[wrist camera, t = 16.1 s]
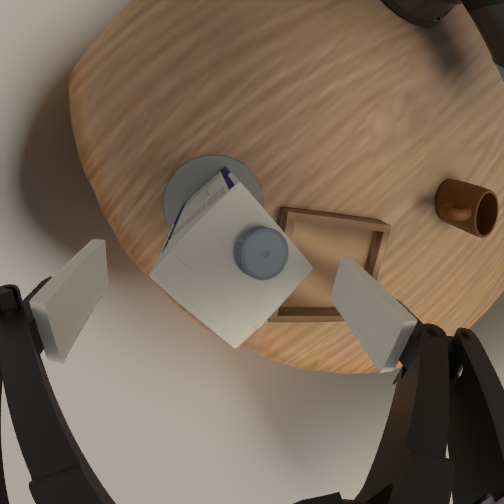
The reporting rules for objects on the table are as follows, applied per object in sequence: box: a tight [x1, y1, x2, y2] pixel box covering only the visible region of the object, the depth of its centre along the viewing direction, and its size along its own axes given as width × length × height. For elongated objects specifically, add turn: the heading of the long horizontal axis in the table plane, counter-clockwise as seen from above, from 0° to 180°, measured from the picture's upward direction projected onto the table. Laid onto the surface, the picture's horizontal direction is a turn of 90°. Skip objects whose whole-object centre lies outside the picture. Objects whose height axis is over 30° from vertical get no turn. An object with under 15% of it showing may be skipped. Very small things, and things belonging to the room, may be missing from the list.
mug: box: [436, 180, 498, 238], centre depth 34 cm, size 12×8×9 cm, turn 95°
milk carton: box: [149, 166, 313, 348], centre depth 24 cm, size 7×7×20 cm
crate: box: [268, 207, 391, 322], centre depth 37 cm, size 15×15×3 cm
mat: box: [163, 155, 263, 230], centre depth 33 cm, size 12×12×1 cm
